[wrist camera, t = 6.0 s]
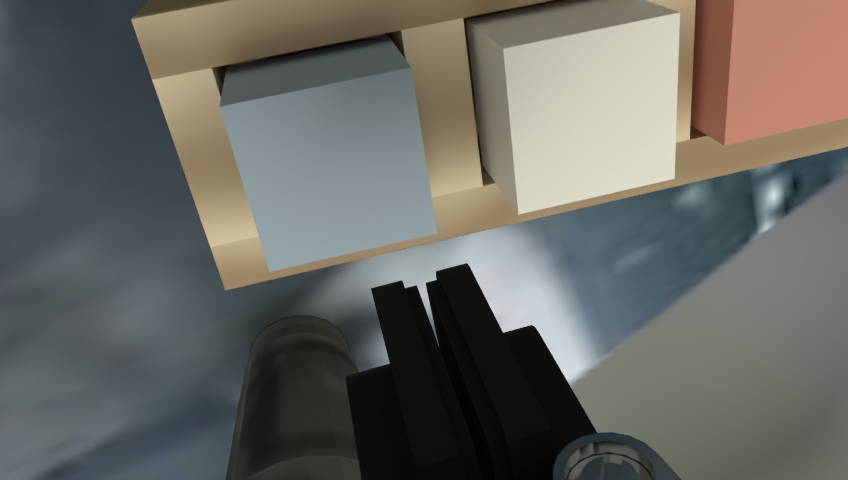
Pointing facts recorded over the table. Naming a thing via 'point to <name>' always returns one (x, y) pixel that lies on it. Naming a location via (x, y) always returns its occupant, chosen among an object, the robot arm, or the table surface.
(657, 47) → the white key
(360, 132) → the blue key
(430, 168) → the key box
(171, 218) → the table surface
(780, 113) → the red key
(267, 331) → the beverage cup
